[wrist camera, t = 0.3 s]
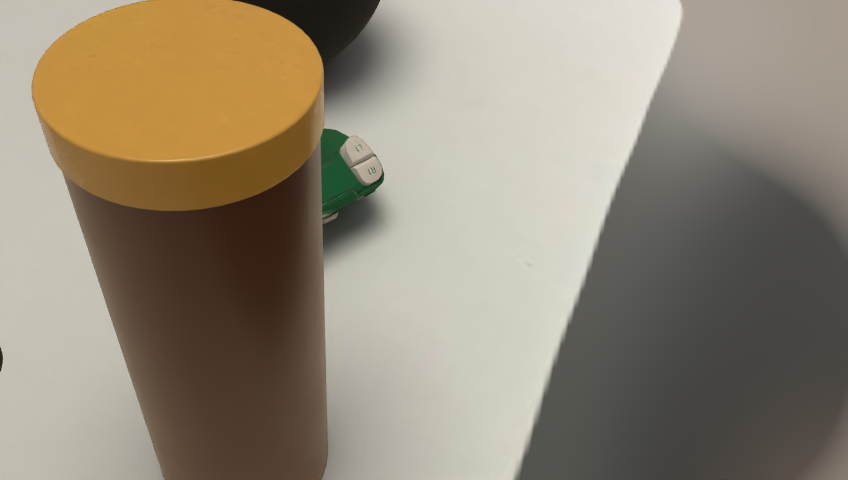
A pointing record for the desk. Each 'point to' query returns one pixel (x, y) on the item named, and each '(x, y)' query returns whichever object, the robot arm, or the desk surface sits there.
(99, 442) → the desk surface
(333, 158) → the gaming controller
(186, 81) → the chocolate tin
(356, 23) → the decorative egg
